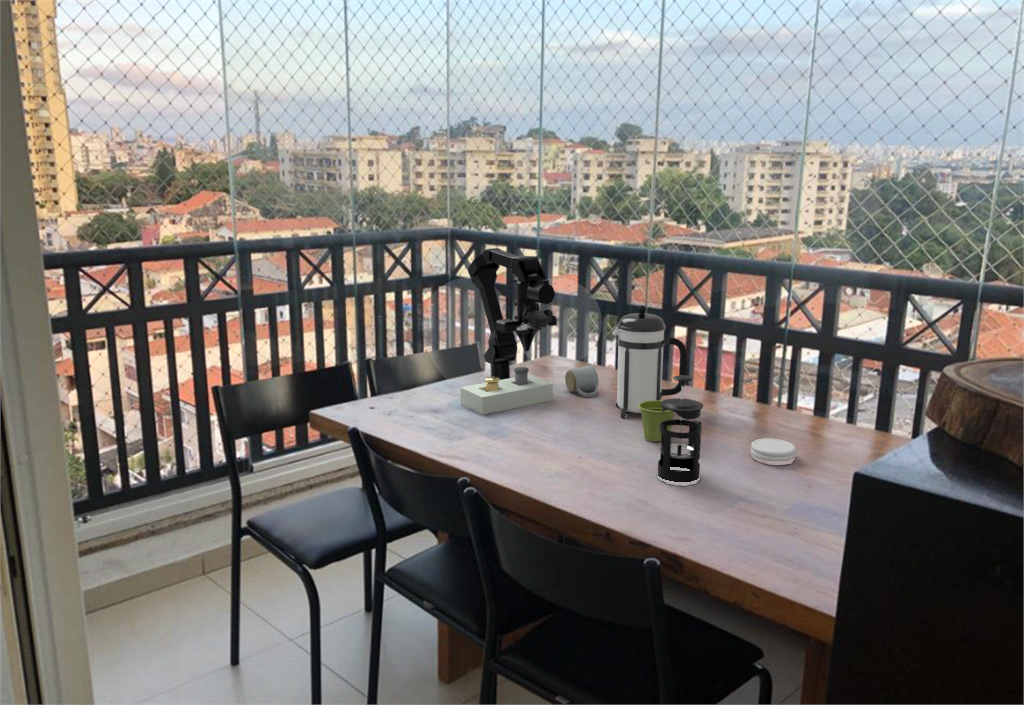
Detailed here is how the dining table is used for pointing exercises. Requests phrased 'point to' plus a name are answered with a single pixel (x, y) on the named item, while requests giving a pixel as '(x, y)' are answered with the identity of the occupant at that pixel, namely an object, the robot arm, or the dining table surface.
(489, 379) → the brass plug
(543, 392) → the block
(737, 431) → the dining table surface
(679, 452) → the french press
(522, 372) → the graphite plug
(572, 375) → the ceramic mug
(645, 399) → the coffee press
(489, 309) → the robot arm
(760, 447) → the coaster
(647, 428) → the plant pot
